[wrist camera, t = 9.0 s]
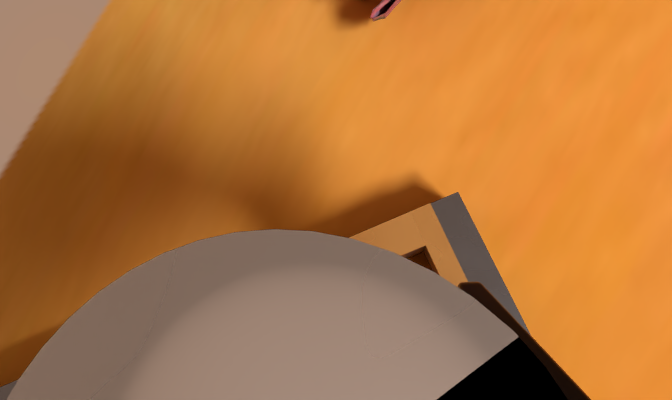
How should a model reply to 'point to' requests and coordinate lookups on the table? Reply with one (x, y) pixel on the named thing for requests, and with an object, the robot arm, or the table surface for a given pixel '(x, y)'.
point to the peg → (283, 330)
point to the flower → (383, 9)
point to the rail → (433, 249)
